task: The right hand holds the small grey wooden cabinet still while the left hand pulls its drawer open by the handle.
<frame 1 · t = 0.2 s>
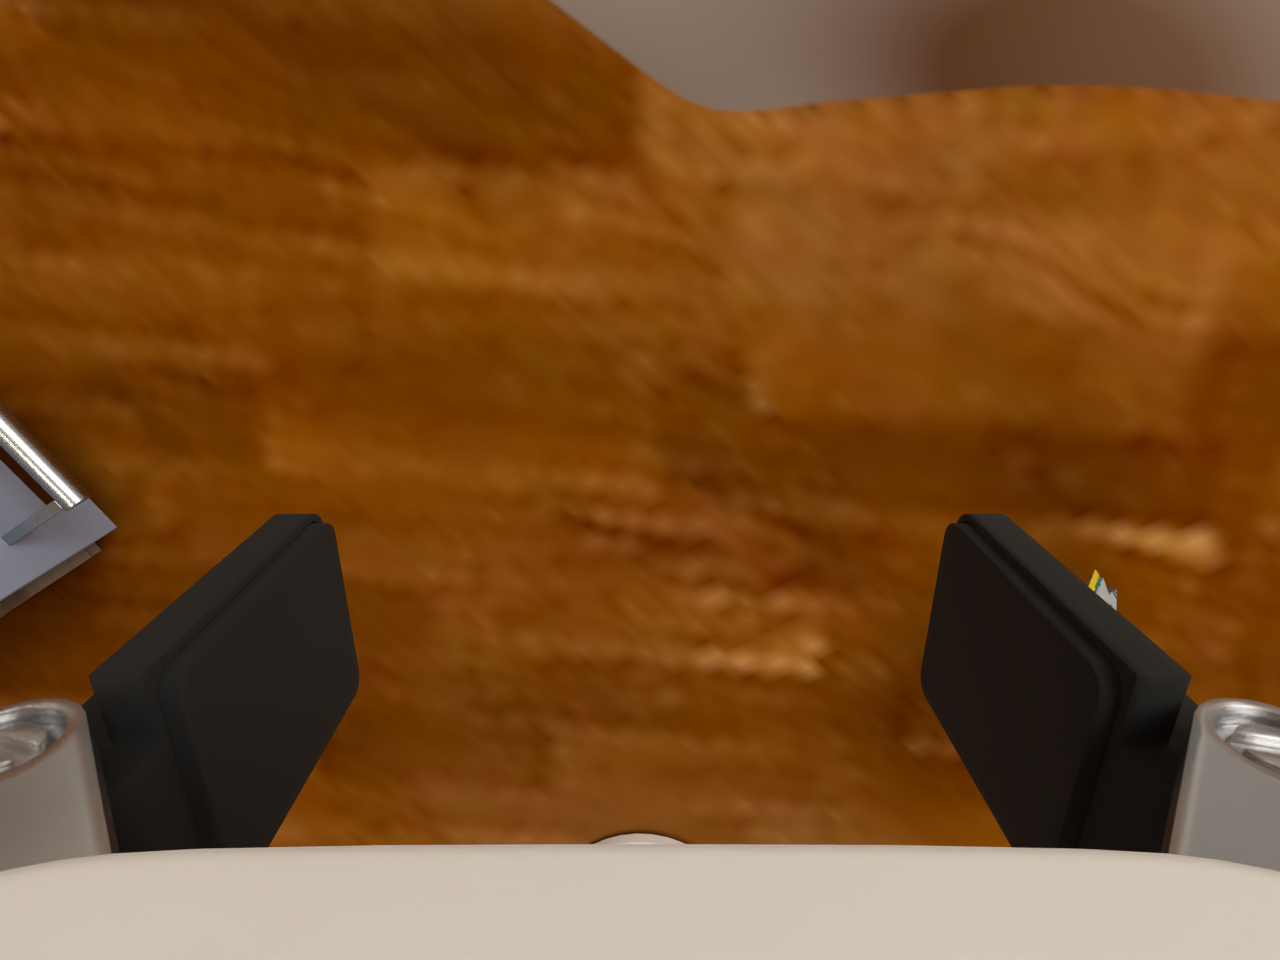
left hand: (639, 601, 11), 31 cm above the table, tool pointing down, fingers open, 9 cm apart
figurine: (1106, 720, 50), on the table
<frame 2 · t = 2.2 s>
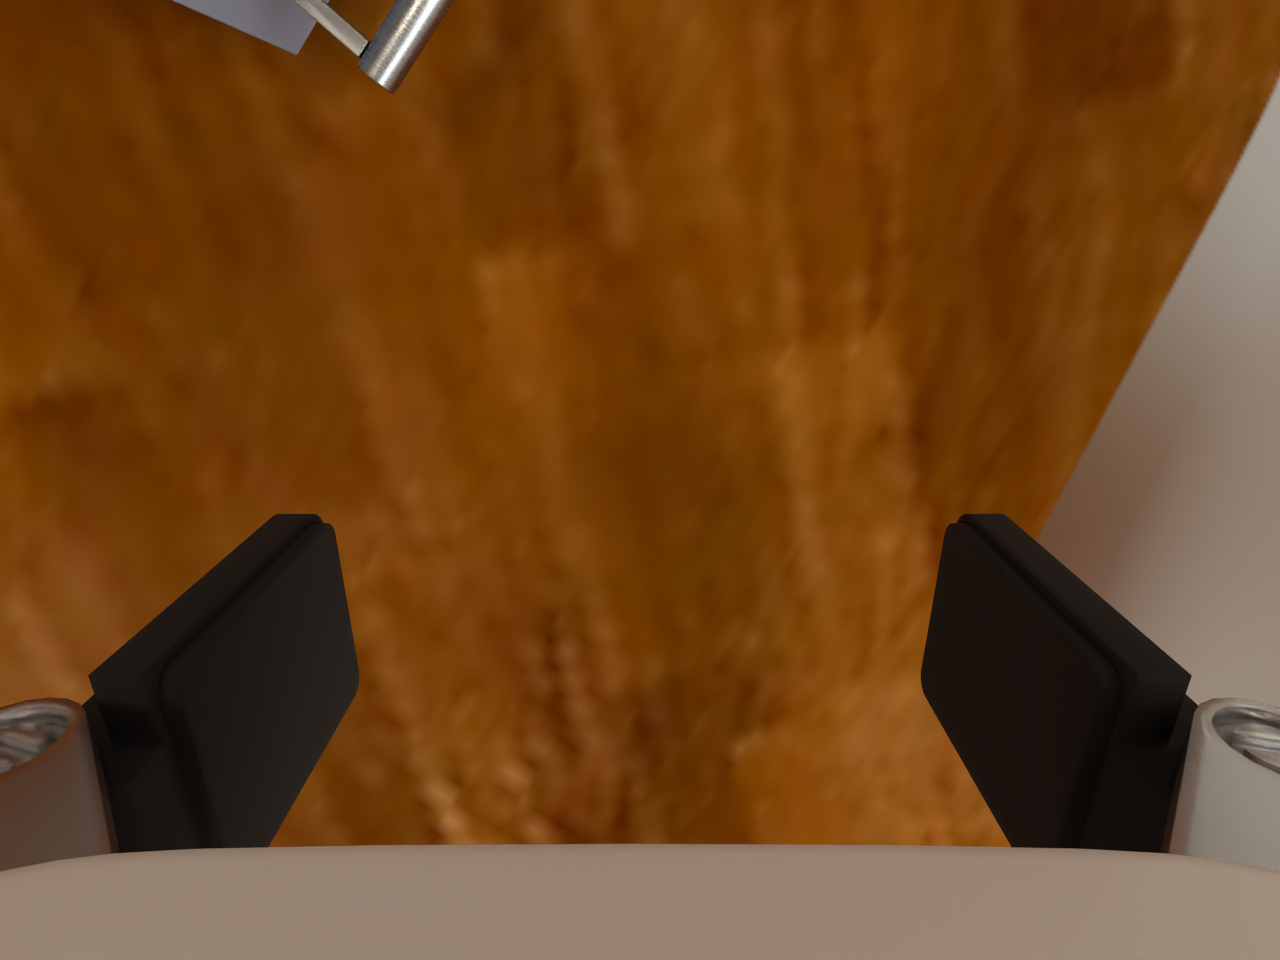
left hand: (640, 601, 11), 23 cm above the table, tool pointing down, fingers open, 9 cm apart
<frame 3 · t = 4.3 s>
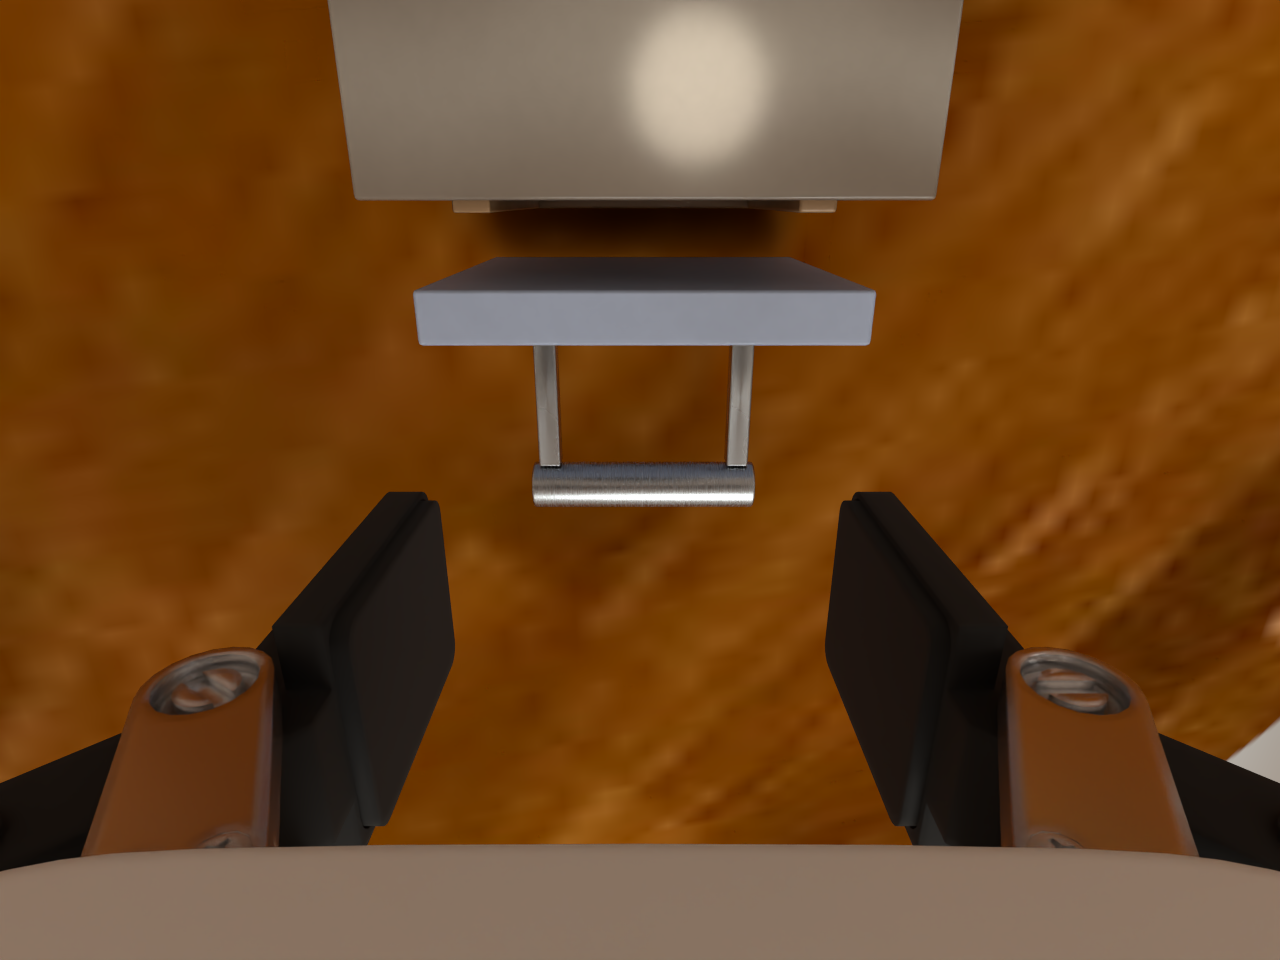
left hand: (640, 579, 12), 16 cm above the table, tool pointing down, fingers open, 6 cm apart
drawer: (643, 52, 18), point 6 cm above the table, slide at 1.8 cm
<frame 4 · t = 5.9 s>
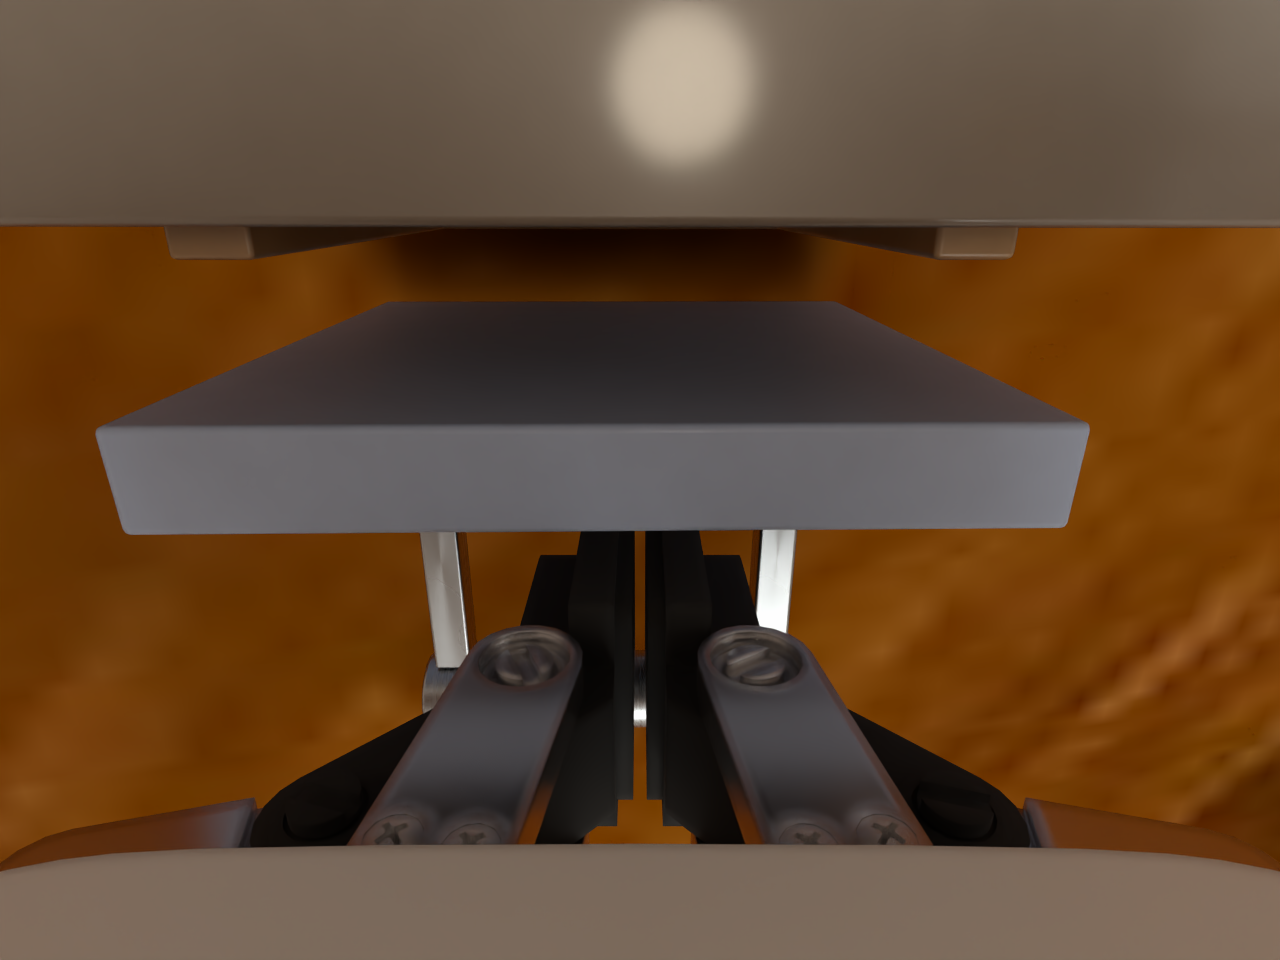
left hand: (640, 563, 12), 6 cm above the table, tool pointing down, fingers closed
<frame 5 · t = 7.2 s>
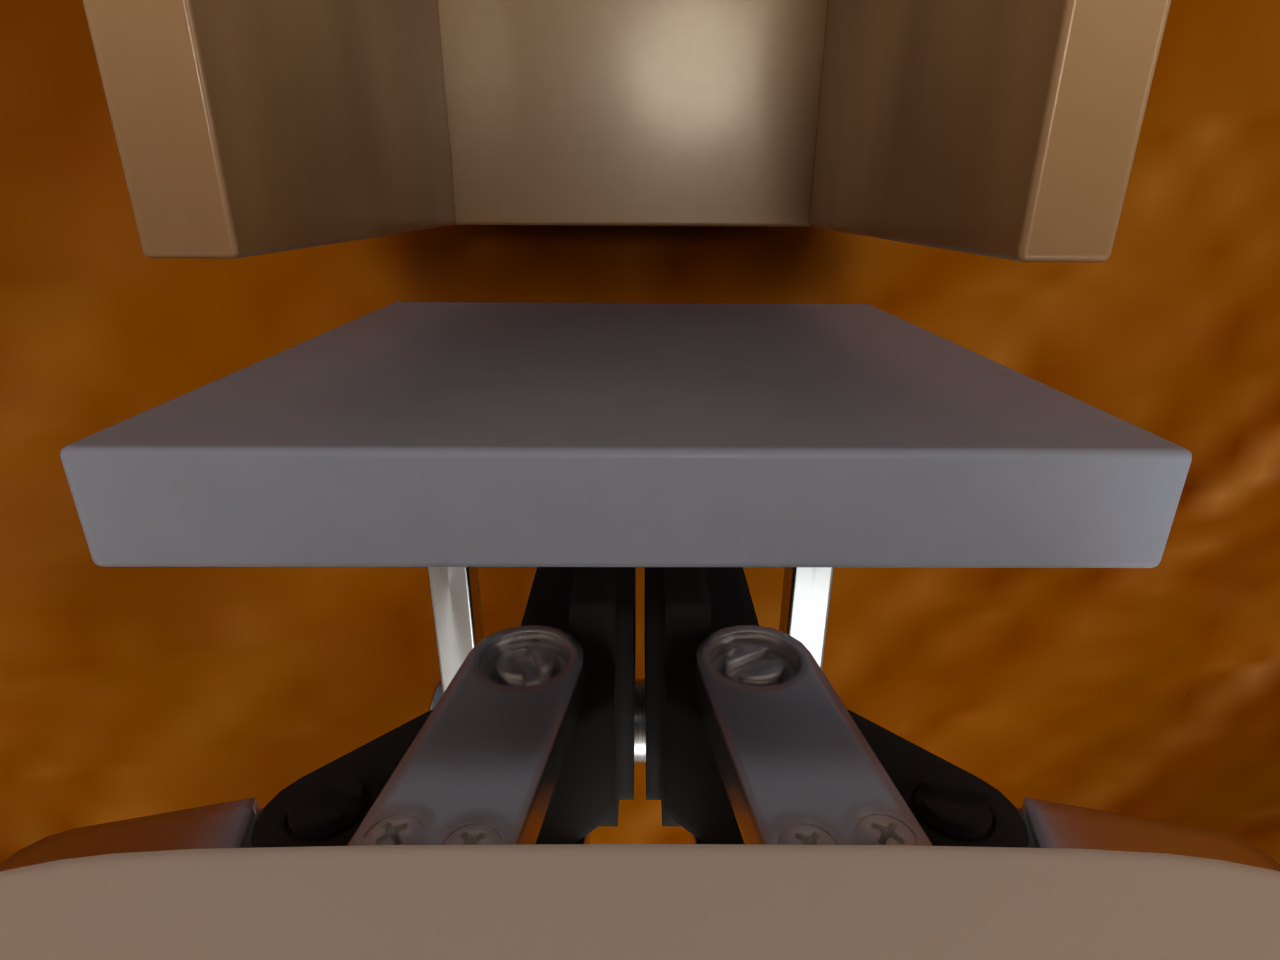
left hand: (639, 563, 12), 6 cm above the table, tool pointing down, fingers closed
when the right hand's fingers open (7 cm above the table, at t = 9.4 s): cabinet stays where it is, on the table.
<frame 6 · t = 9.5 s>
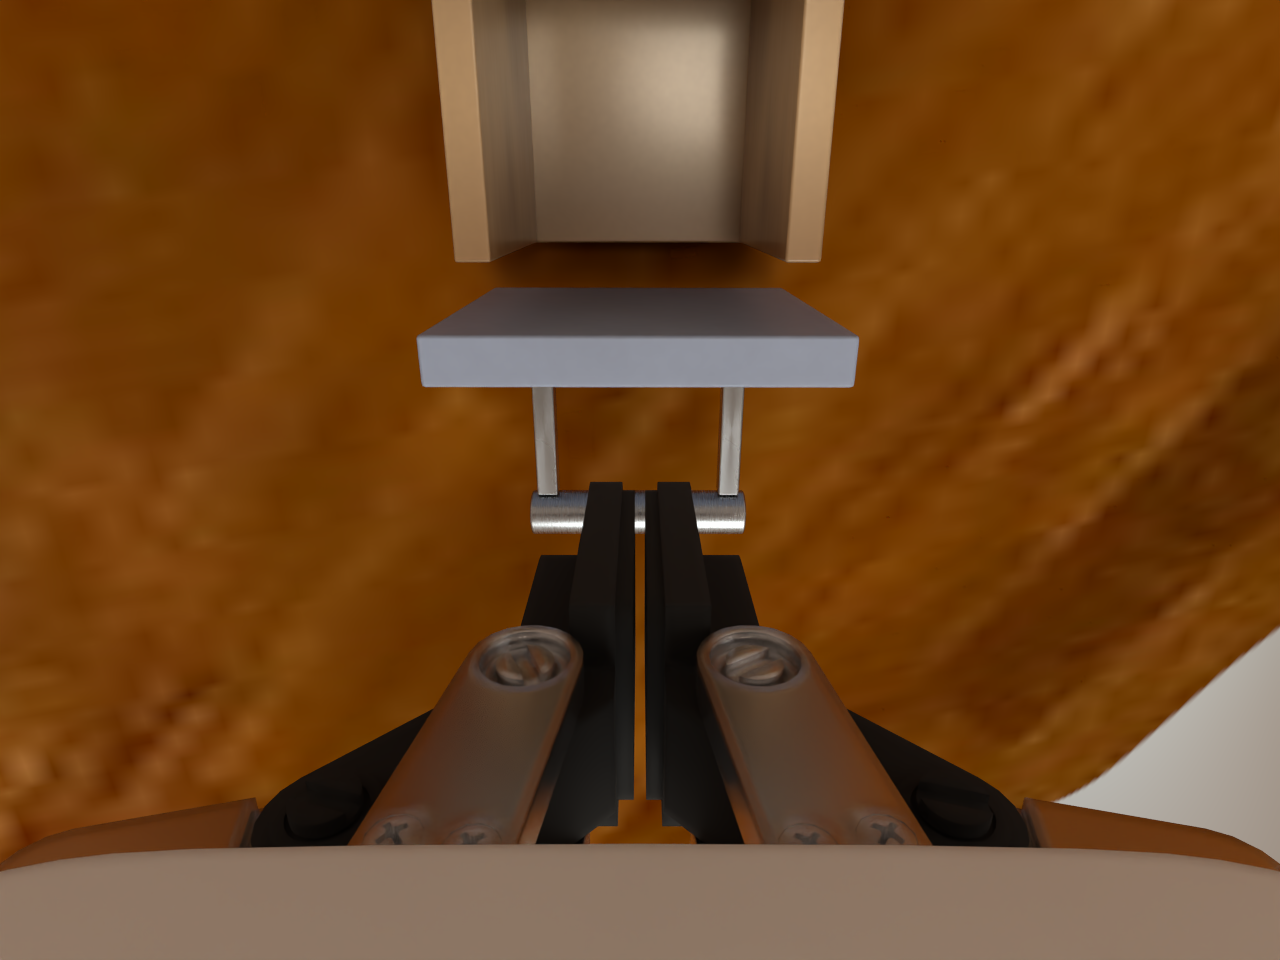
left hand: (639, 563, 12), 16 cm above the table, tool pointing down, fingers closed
drawer: (638, 101, 18), point 6 cm above the table, slide at 9.2 cm
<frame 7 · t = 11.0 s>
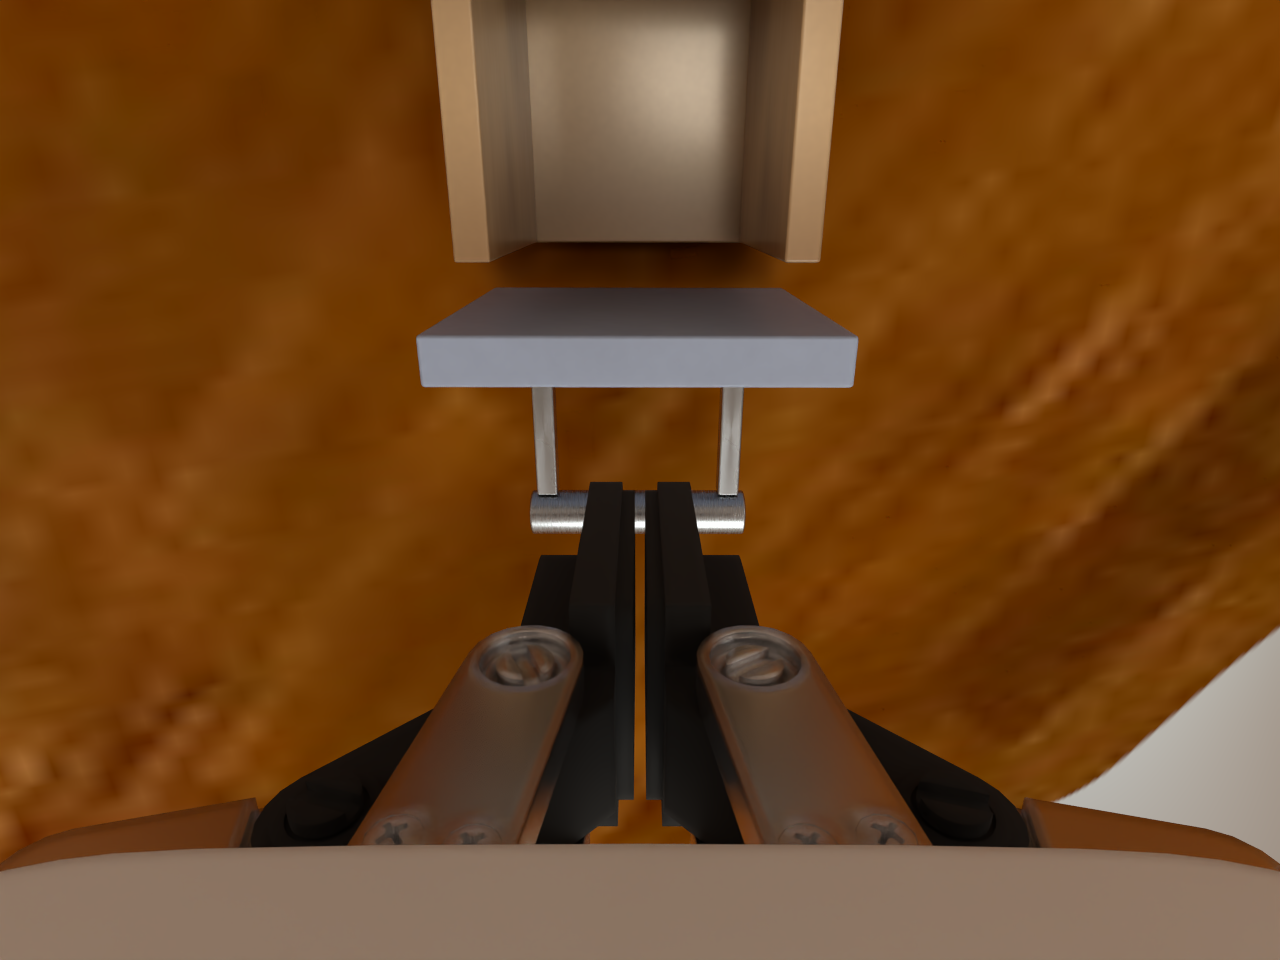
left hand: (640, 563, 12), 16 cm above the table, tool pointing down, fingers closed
drawer: (637, 101, 18), point 6 cm above the table, slide at 9.2 cm
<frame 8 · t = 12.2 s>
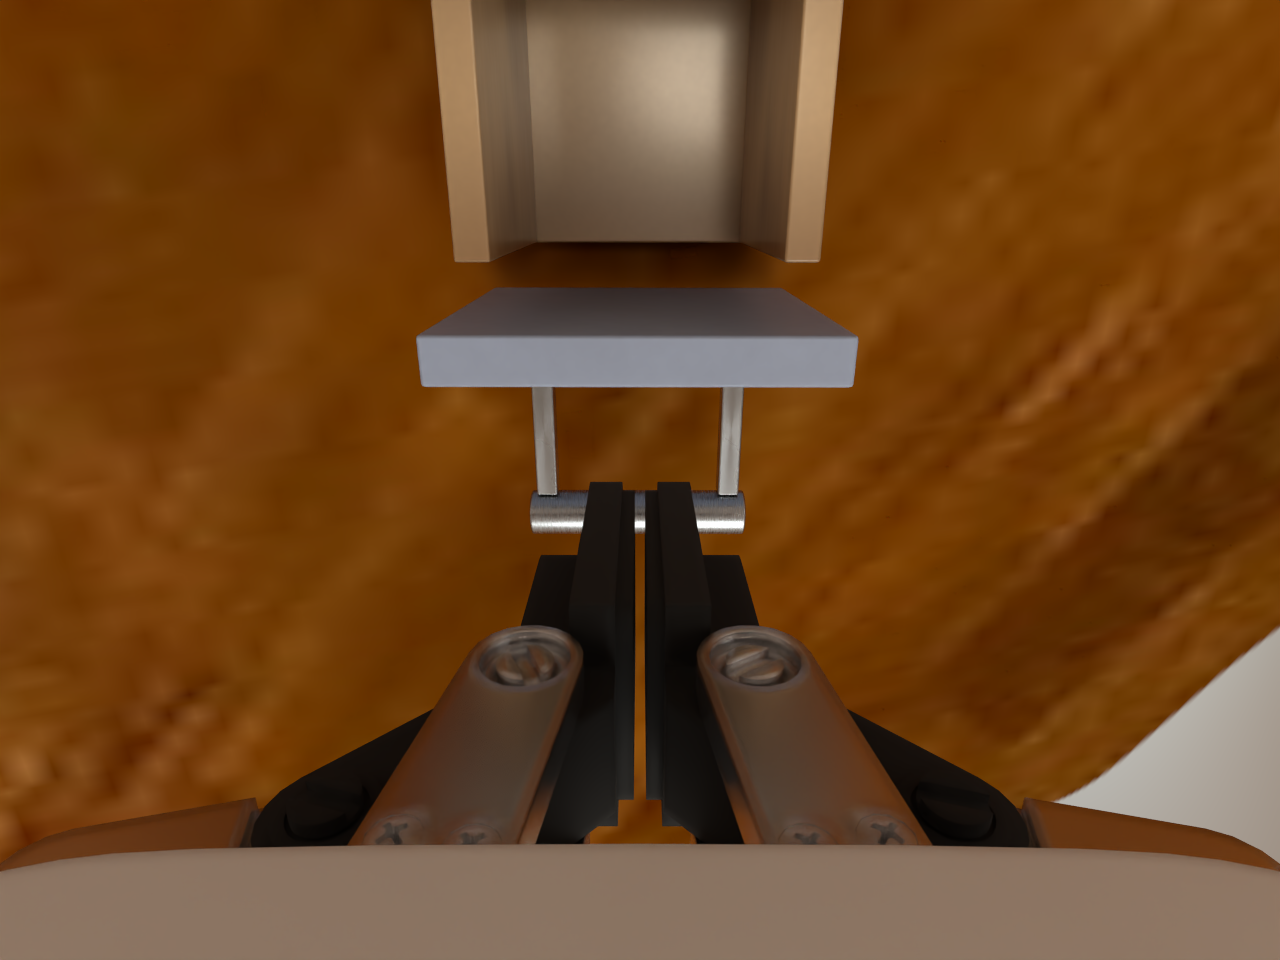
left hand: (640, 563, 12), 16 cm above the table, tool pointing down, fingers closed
drawer: (637, 101, 18), point 6 cm above the table, slide at 9.2 cm
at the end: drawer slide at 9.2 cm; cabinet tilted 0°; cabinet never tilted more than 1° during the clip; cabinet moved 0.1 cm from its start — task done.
